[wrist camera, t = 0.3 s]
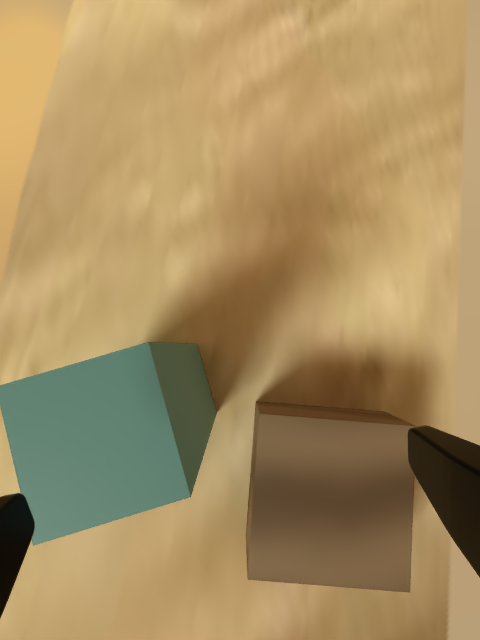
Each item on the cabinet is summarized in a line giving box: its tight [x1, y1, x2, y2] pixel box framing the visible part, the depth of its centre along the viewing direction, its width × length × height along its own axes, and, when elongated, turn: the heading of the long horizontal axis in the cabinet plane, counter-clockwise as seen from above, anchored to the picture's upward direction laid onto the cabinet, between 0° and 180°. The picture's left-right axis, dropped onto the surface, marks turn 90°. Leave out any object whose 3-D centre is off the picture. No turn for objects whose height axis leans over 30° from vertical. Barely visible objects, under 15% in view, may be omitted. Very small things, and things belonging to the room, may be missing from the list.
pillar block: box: [0, 342, 217, 545], centre depth 16 cm, size 5×5×12 cm
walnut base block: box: [246, 402, 416, 592], centre depth 20 cm, size 9×9×4 cm
